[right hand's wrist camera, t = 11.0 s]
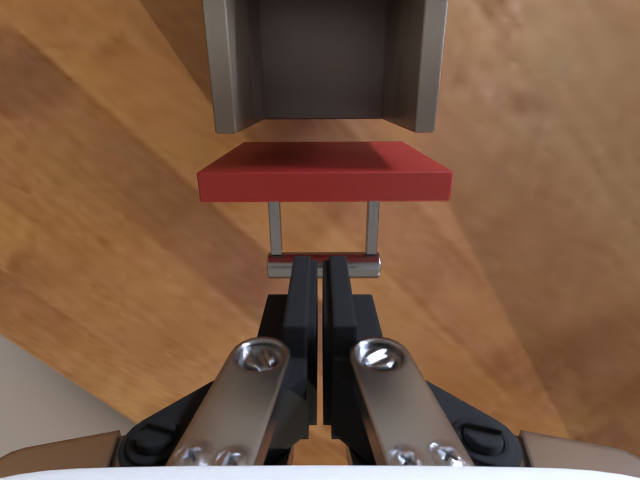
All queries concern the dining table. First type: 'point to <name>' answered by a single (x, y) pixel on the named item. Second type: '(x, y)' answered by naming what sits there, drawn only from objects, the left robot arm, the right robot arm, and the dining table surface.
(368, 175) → the drawer
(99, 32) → the dining table surface
